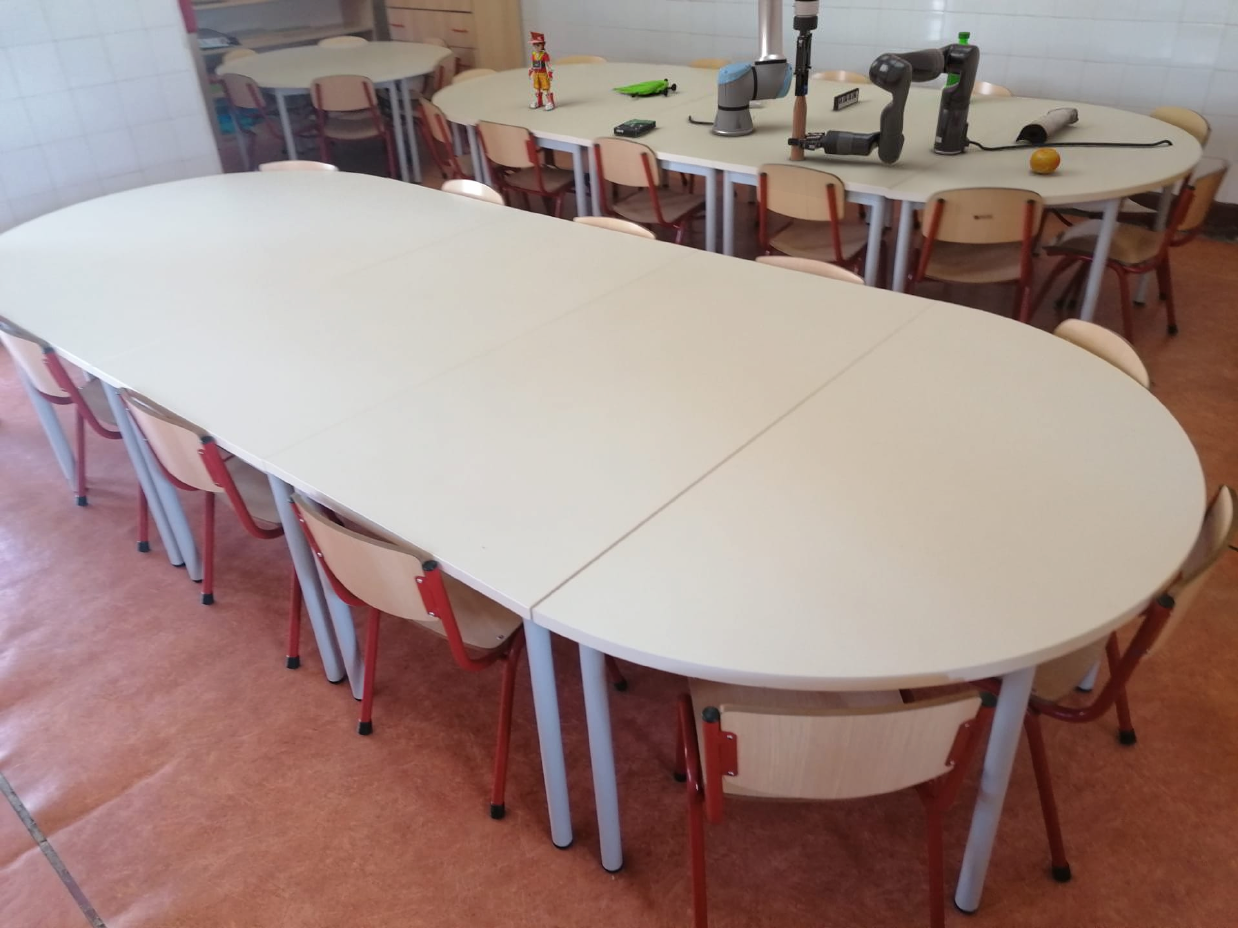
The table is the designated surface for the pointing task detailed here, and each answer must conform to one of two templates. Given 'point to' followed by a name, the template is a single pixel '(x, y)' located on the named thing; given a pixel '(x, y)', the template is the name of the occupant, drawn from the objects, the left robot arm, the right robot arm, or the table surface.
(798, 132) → the bottle
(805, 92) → the cap
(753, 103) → the anatomical model
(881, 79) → the right robot arm
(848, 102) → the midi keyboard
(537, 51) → the toy
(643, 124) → the disk drive
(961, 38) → the plastic bottle
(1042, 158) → the fruit
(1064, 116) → the rolled mat
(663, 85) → the toy
